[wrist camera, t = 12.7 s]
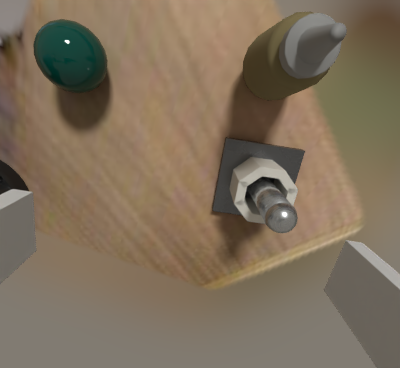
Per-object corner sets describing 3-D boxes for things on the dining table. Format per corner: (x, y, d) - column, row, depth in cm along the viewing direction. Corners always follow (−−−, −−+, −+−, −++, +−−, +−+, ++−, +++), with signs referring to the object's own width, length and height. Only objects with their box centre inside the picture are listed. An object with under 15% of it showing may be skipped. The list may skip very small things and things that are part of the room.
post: (212, 207, 39) (217, 265, 25) (225, 137, 36) (240, 158, 21) (281, 218, 40) (323, 280, 26) (301, 149, 36) (365, 178, 22)
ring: (226, 201, 38) (230, 219, 32) (236, 154, 35) (242, 164, 30) (274, 208, 38) (286, 226, 32) (287, 162, 35) (303, 173, 30)
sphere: (102, 22, 31) (69, -5, 23) (125, 84, 33) (102, 78, 26) (49, 42, 32) (0, 22, 24) (75, 101, 34) (39, 100, 27)
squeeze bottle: (273, 111, 34) (341, 119, 17) (227, 81, 33) (252, 56, 16) (308, 59, 32) (428, 7, 15) (260, 24, 31) (332, -76, 14)
